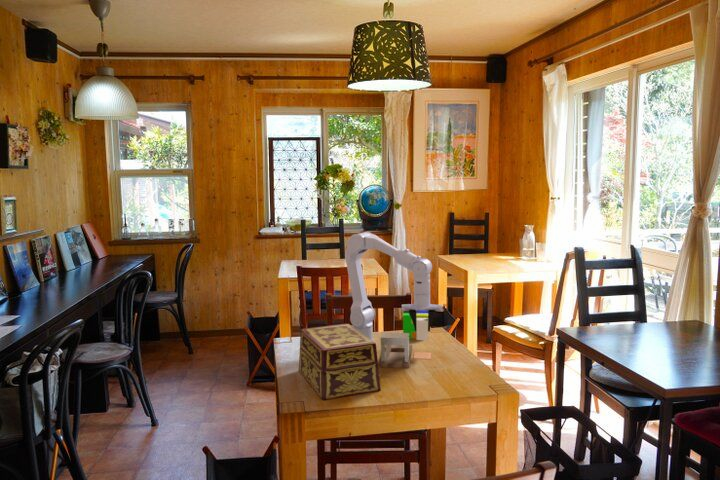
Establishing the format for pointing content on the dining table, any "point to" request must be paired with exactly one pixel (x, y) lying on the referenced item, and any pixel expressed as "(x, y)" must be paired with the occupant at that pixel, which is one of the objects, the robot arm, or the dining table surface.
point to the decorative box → (338, 361)
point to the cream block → (422, 328)
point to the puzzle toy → (408, 323)
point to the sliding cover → (394, 343)
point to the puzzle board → (396, 356)
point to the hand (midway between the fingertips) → (422, 330)
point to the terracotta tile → (422, 355)
